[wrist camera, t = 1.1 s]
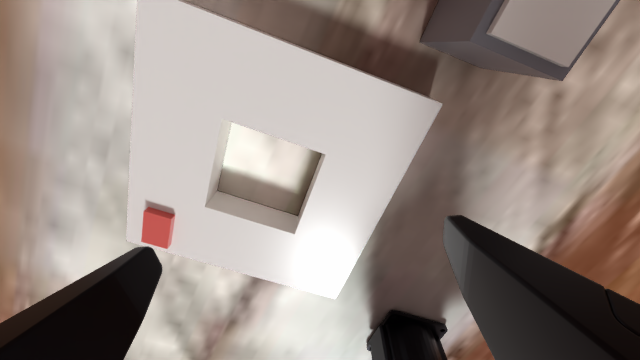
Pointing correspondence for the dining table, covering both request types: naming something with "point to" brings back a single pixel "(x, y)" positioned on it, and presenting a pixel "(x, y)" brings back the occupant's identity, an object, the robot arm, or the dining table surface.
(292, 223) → the socket plate
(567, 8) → the plug
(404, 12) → the dining table surface
